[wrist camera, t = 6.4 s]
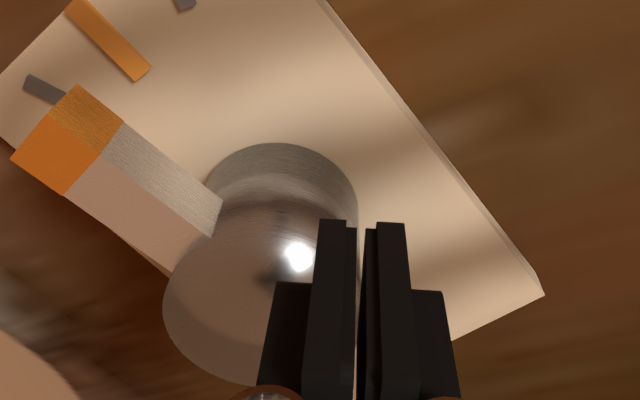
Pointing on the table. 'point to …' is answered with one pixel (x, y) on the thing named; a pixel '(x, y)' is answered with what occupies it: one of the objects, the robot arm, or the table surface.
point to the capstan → (198, 223)
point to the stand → (276, 122)
